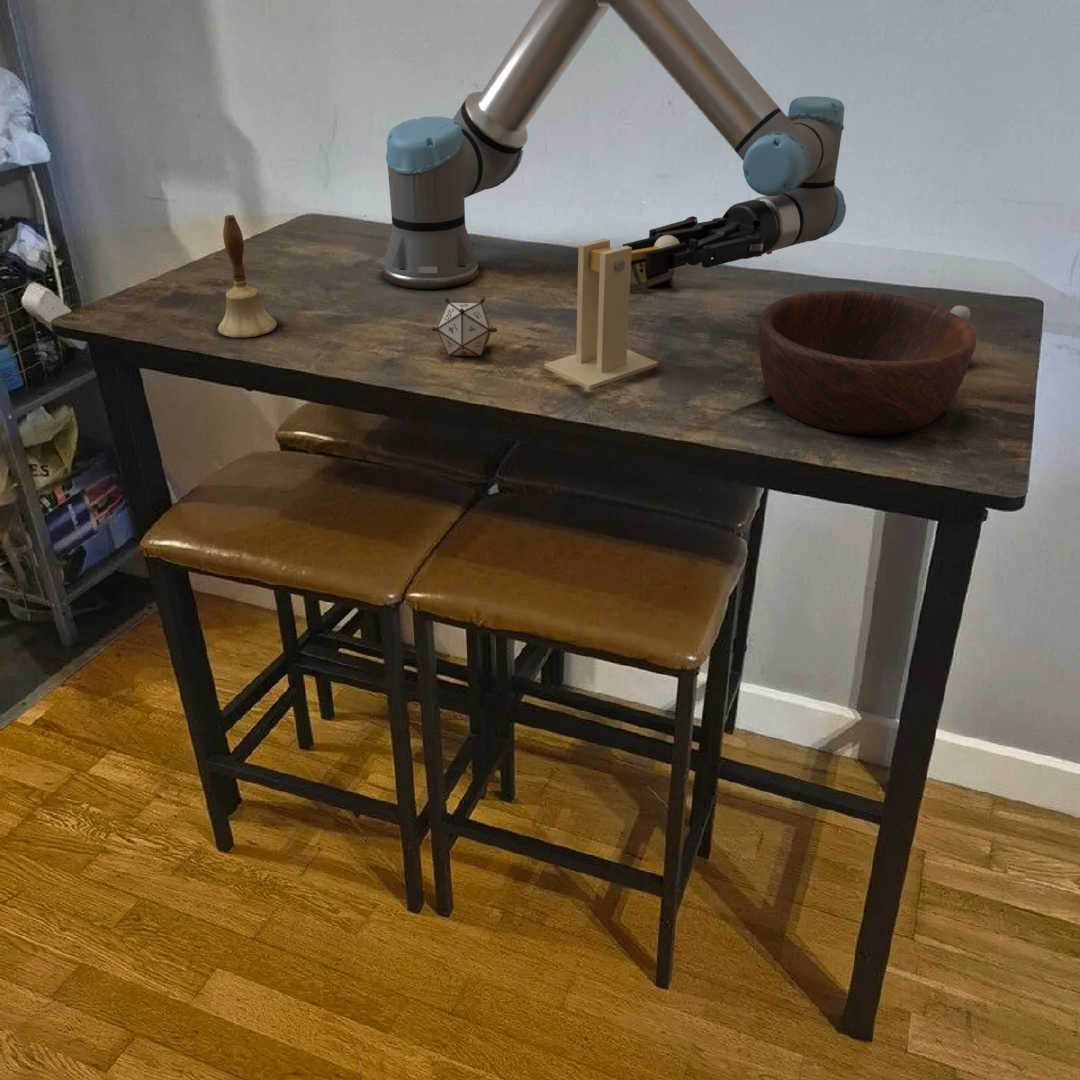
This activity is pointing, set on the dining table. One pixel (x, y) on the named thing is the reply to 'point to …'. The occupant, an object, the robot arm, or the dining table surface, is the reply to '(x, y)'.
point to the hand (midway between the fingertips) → (636, 259)
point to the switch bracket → (602, 321)
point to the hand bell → (241, 293)
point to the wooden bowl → (863, 360)
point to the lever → (634, 251)
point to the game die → (464, 328)
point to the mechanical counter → (650, 277)
